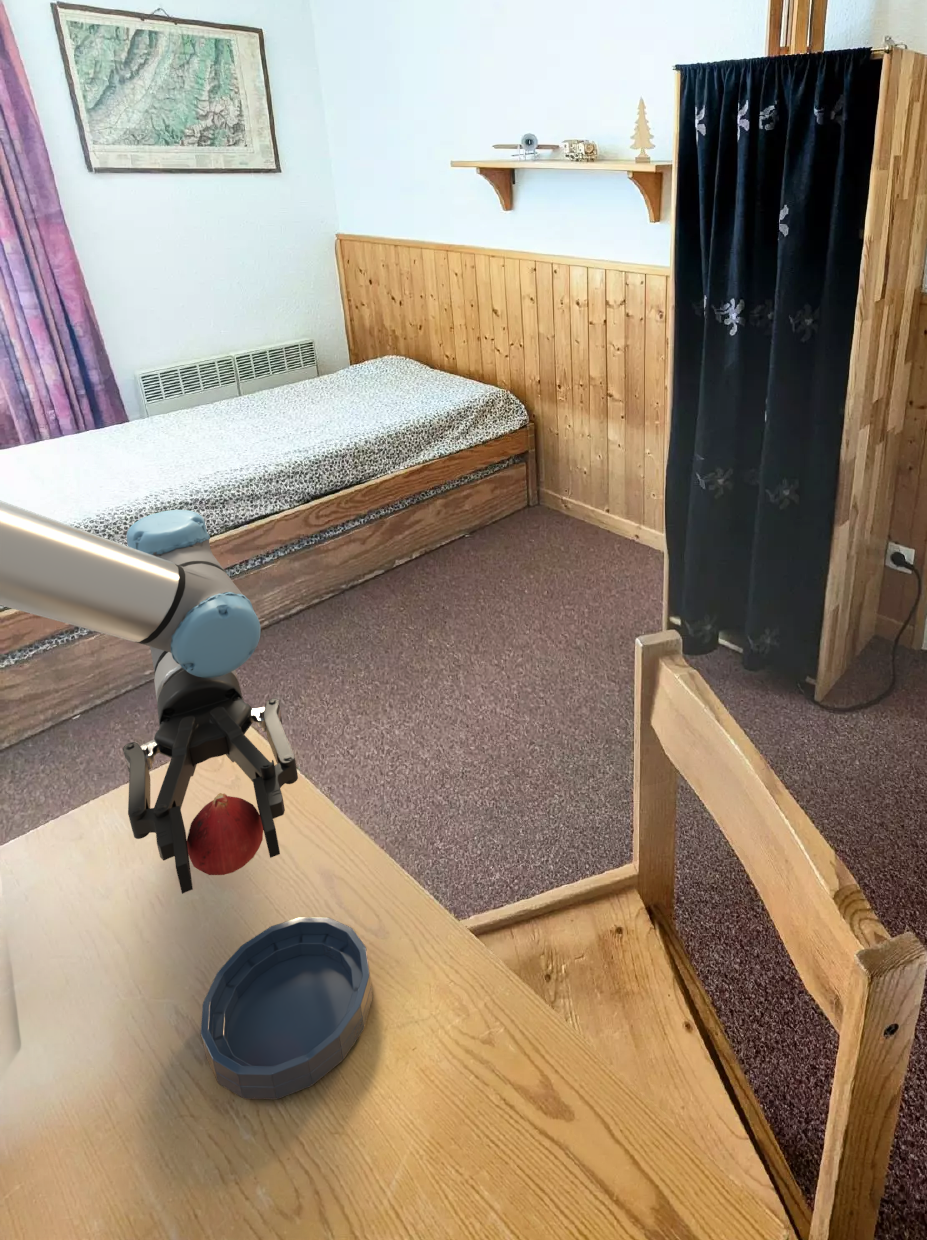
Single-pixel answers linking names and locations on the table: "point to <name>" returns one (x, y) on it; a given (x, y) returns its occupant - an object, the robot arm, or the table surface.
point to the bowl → (286, 1007)
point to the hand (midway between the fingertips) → (229, 860)
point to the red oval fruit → (224, 835)
